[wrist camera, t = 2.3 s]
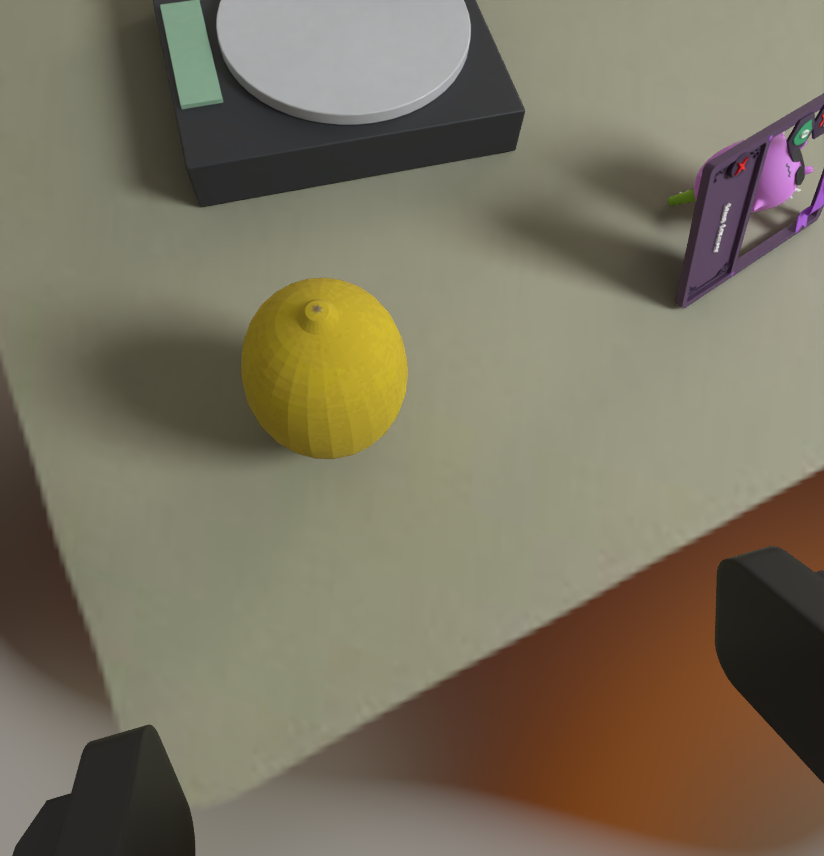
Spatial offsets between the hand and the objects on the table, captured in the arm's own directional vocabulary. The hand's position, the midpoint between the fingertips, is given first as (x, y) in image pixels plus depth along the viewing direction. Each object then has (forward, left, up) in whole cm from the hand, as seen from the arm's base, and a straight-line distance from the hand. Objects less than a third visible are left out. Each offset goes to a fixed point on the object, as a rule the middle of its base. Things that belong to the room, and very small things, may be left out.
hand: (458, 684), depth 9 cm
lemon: (0, +11, -15) cm, 18 cm away
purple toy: (+19, +16, -15) cm, 29 cm away
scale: (+4, +29, -15) cm, 32 cm away
